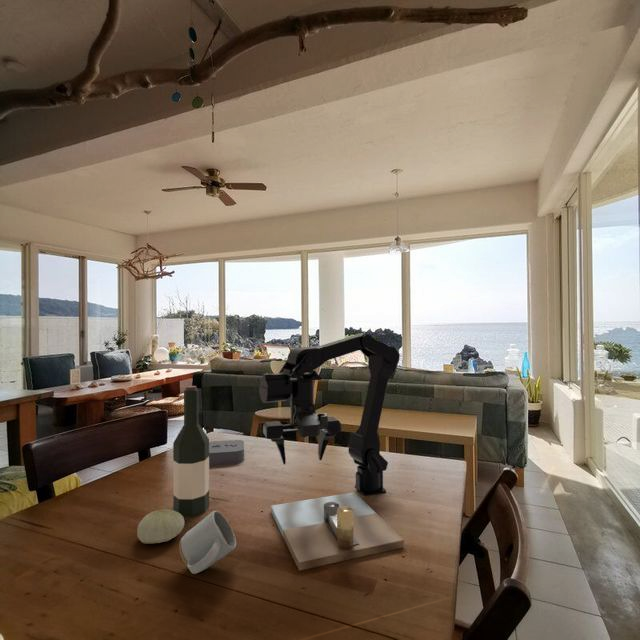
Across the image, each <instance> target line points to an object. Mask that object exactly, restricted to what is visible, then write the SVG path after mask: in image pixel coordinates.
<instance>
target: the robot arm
mask: <svg viewBox="0 0 640 640" xmlns="http://www.w3.org/2000/svg"><path fill="white" fill-rule="evenodd" d="M357 351H360V352H361V353H362V354H363V355H364V356H366V357H367V358H368V362H367V363H368V364H367V365H368V370H369V375H370V378H369V382H368V388H367V391H366V396H365V400H364V405H363V410H362V415H361V419H360V424H359V427H358V429H357V430H356V431H355V432H354V431H351V432H350V434H349V441H348V443H347V445H346V447H347V448H348V454H349V456H350V458H352V460H353V462H354V464H355V465H357V467H356V470H357V471H356V472H355V484H354V487H355V489H357V490H358V491H359V492H360V493H361V494H362V495H363V496H371V495H377V494H383V493H386V492H387V489H385V488H384V471H387V469H388V465H389V462H388V461H387V460H386V458H384V457H383V456H382V455H381V442H380V441H381V440H380V437H379V432H378V431H379V426H380V421H381V416H382V411H383V406H384V403H385V398H386V393H387V387H388V383H389V380H390V378H391V377H392V376H393V374H394V373H395V372H396V370H397V367H398V364H399V361H400V358H401V357H400V353H399V351H398V350H397V349H396V347H394V346H390V345H387V344H386V343H385V342H382V341H380V340H378V339H376V338H374V337H373V336H372V335H370V334H369V333H363V332H361V333H359V332H358V333H356V334H354V335H351V336H348V337H345V338H341V339H338V340H334V341H332V342H328V343H325V344H321V345H317V346H316V345H315V346H303V347H301V346H299V347H294V348H293V349H291V350H290V351H289V353H288V355H287V360H286V361H285V363H284V364H283V365H282V367H281V368H280V370H279V372H278V373H268V372H267V373H262V378H261V381H260V385H259V388H258V390H259V398H260V401H261V402H262V403H263V404H268V403H274V402H284V401H287V400H289V398H290V401H289V406H290V417H289V420H290V421H289V424H282V423H281V422H280V421H279V420H273V421H265V422H264V423H263V424H262V425H263V426H262V433H263V435H264V438H266V439H267V440H270V441H271V442H274V443H275V444H276V447H277V450H278V452H279V455H280V459H281V462H282V464H283V465H286V449H285V438H284V436H283V435H284V434H285V433H296V432H298V435H299V436H300V437H301V438H307V437H318V448H317V449H318V450H317V451H318V453H317V454H318V460H319V461H322V459H323V457H324V454H325V451H326V448H327V446H328V444H329V441H330V440H331V439H332V438H333V437H336V435H337V433H341V432H342V423H341V422H340V420H338V419H337V418H336V417H334V416H328V413H327V412H322V413H321V412H320V413H317V412H316V405H315V402H314V401H315V400H314V395H315V394H314V393H315V392H314V391H315V390H314V388H315V387H314V385H315V384H314V383H315V382H314V381H321V380H322V379H323V378H322V376H320V375H319V373H317V372H316V369H319V368H320V367H322V366H323V365H324V364H325V363H326V362H328V361H331V360H333V359H337V358H339V357H342V356H346V355H349V354H352V353H355V352H357Z"/></svg>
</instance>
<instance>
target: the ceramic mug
mask: <svg viewBox="0 0 640 640" xmlns="http://www.w3.org/2000/svg"><path fill="white" fill-rule="evenodd" d="M236 538H237V537H236V535H235V532H234V531H233V528H232V527H231V524H230V523H229V521H228V519H226V516H224V515H223V514H222V513H221V512H220V511H218V510H213V511H211V512H210V513H209V514H207V516H206V517H204V518H203V519H202V520H200V522H198V523H197V524H196V525H195V526H193V527H192V528H191V529H189V530H188V531H187V532H185V533H184V535H183V536H182V537H181V538H180V541H179V546H178V549H179V553H180V556H181V559H182V561H183V563H184V564H185V566H186V567H187V569H188V570H189V571H190V572H191V574H194V575H195V574H196V575H197V574H199V573H201V572H202V571H204V570H206V569H208V568H210V567H211V566H212V565H214V564H215V563H216V562H217V561H219V560H221V559H222V558H224V557H225V556H226V555H228V554H230V552H232V551H234V550H235V549H236V547H237V539H236Z"/></svg>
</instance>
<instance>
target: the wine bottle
mask: <svg viewBox="0 0 640 640" xmlns="http://www.w3.org/2000/svg"><path fill="white" fill-rule="evenodd" d="M199 403H200V402H199V389H198V388H197V386H196V385H188V386H185V389H184V390H183V426H182V427H181V429H180V430H179V432H178V434H177V436H176V437H175V439H174V441H173V442H172V444H173V445H172V446H173V447H172V449H173V450H172V451H173V452H172V453H173V454H172V456H173V458H172V459H173V460H172V463H173V464H172V467H173V468H172V469H173V470H172V473H173V474H172V476H173V480H172V481H173V488H172V489H173V490H172V494H173V495H172V496H173V503H172V504H173V508H172V510H174V511H176V512H178V513H180V514H181V515H182V516H183V518H188V517H189V518H192V517H193V518H194V517H195V516H198V515H202V514H203V513H206V512H207V510H208V509H209V507H210V465H209V442H210V438H209V437H208V436H207V434H206V433H205V431H204V429H203V428H202V426H201V425H200V423H199V415H200V414H199V413H200V412H199V407H200V406H199Z"/></svg>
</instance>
